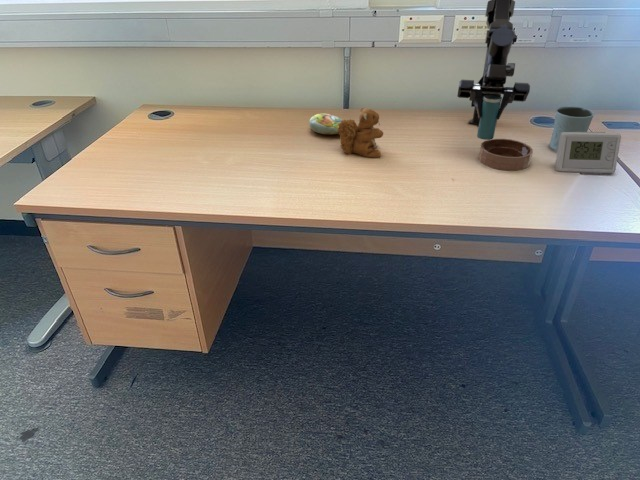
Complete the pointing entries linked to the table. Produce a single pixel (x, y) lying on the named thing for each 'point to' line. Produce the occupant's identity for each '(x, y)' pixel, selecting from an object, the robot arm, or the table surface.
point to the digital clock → (587, 152)
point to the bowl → (505, 154)
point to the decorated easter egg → (325, 124)
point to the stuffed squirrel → (361, 134)
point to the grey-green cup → (570, 122)
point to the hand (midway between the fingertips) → (488, 118)
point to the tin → (489, 116)
